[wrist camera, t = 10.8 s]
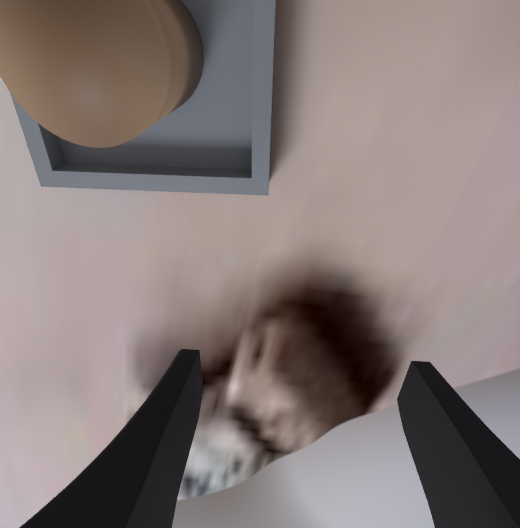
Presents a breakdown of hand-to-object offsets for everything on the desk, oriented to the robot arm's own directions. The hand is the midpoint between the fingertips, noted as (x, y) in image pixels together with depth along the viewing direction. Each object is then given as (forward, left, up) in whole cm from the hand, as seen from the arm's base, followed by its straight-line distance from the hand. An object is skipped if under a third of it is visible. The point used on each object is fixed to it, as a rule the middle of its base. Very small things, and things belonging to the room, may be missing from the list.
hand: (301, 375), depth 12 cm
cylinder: (+7, -9, -9) cm, 14 cm away
